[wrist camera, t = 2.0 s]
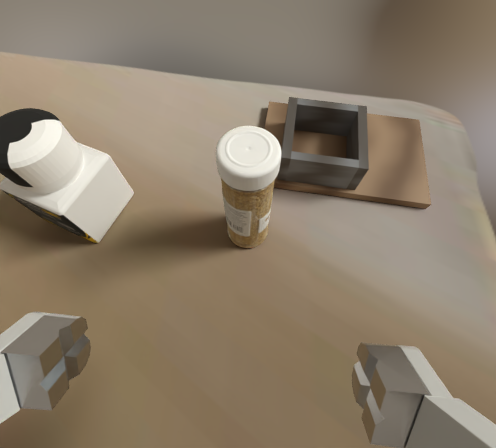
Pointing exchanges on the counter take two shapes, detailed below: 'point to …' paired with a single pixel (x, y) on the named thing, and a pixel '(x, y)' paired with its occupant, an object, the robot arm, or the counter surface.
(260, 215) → the sprinkles bottle
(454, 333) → the counter surface
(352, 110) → the socket block
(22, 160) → the medicine bottle
